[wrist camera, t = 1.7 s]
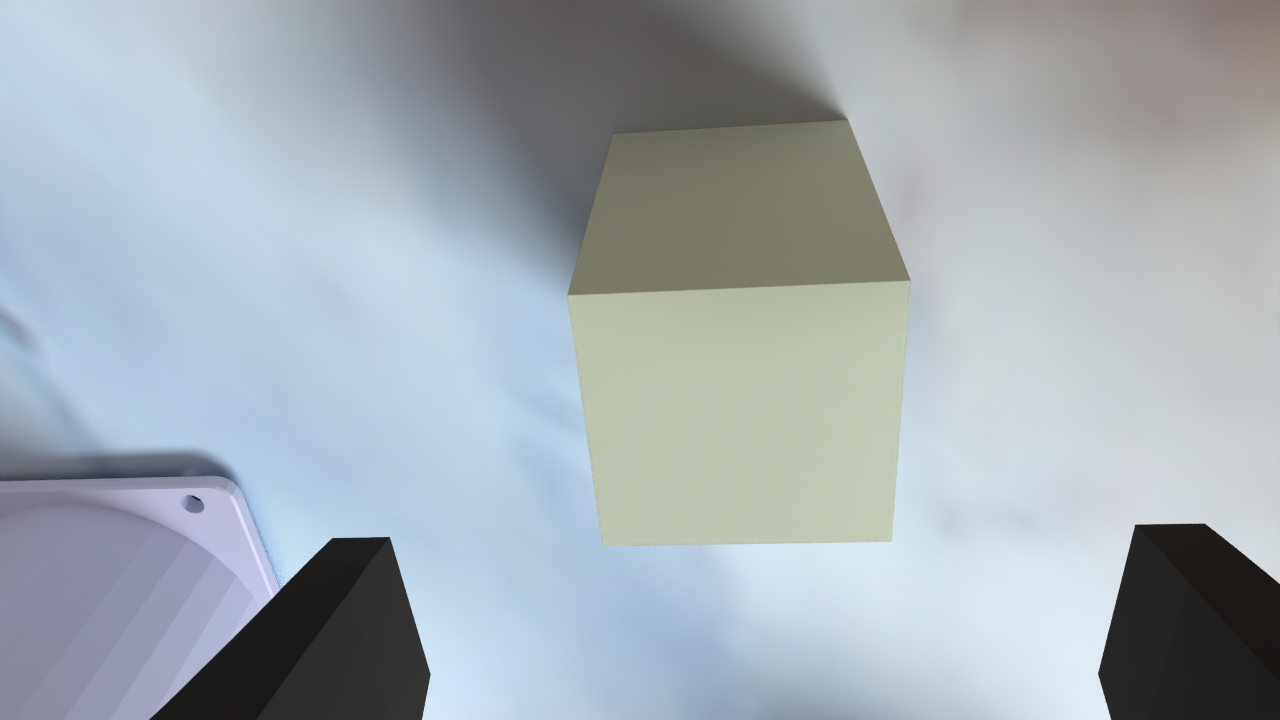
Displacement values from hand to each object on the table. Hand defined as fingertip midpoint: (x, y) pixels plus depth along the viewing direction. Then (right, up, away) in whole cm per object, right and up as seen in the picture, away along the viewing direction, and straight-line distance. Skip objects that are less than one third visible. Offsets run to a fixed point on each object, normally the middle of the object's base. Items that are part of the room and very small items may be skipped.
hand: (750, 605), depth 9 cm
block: (+1, +5, +8) cm, 9 cm away
